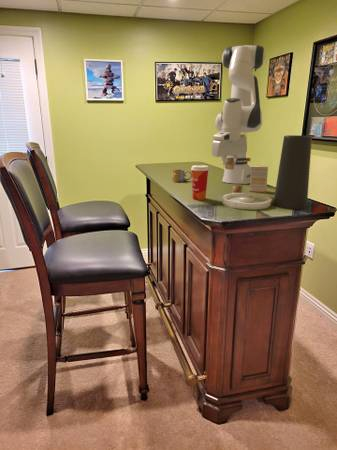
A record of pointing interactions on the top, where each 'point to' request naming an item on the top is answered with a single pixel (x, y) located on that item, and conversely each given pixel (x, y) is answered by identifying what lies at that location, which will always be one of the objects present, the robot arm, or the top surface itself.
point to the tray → (246, 201)
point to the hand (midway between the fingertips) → (229, 164)
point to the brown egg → (236, 189)
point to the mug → (180, 176)
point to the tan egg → (230, 163)
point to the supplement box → (258, 178)
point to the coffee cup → (199, 181)
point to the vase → (293, 173)
